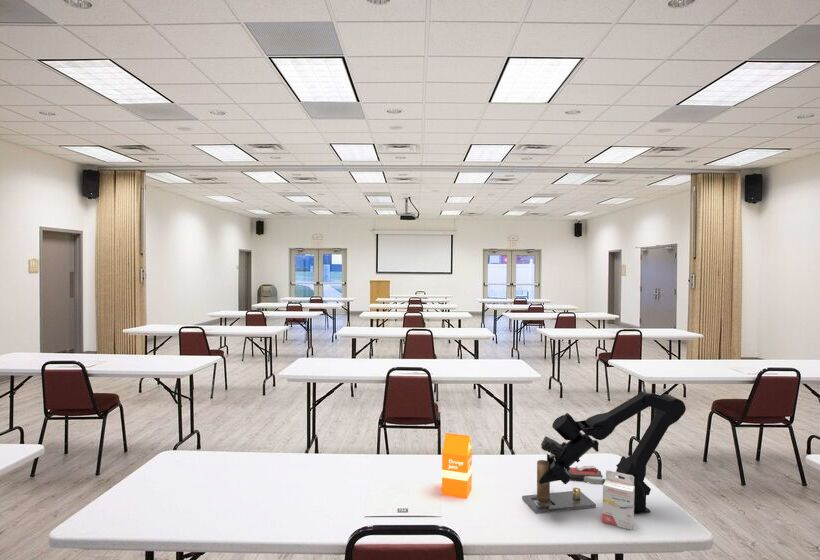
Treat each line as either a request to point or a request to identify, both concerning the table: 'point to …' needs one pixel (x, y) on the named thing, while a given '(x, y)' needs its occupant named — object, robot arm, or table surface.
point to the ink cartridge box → (618, 500)
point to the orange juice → (457, 466)
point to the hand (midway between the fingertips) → (539, 479)
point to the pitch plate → (561, 501)
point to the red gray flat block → (586, 474)
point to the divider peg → (544, 488)
